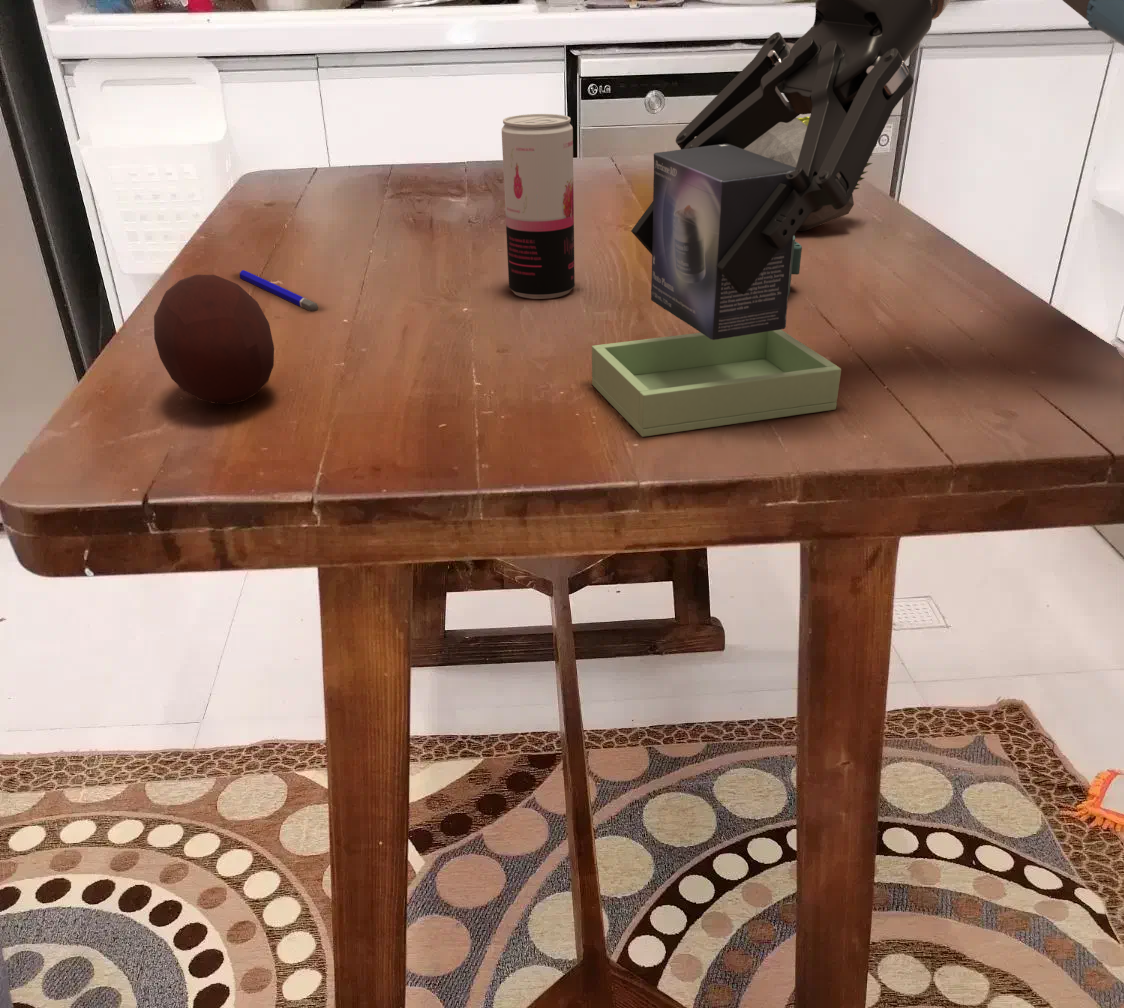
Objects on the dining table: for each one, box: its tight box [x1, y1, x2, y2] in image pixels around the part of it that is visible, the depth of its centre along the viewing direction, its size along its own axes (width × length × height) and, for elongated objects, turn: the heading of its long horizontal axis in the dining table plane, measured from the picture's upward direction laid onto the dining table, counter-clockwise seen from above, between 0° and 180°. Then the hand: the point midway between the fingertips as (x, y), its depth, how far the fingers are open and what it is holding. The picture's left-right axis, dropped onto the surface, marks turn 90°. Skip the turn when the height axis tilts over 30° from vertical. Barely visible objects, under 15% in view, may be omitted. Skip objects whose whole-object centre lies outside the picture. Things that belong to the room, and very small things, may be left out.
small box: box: [650, 144, 796, 340], centre depth 78 cm, size 11×6×10 cm, turn 22°
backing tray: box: [591, 329, 842, 438], centre depth 84 cm, size 12×16×3 cm
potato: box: [153, 274, 275, 405], centre depth 84 cm, size 9×12×9 cm
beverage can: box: [501, 113, 576, 300], centre depth 105 cm, size 7×7×15 cm
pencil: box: [239, 269, 319, 312], centre depth 111 cm, size 17×1×1 cm, turn 38°
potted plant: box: [744, 116, 873, 232], centre depth 125 cm, size 12×13×15 cm
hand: (684, 261), depth 78 cm, fingers closed on small box, 11 cm apart
